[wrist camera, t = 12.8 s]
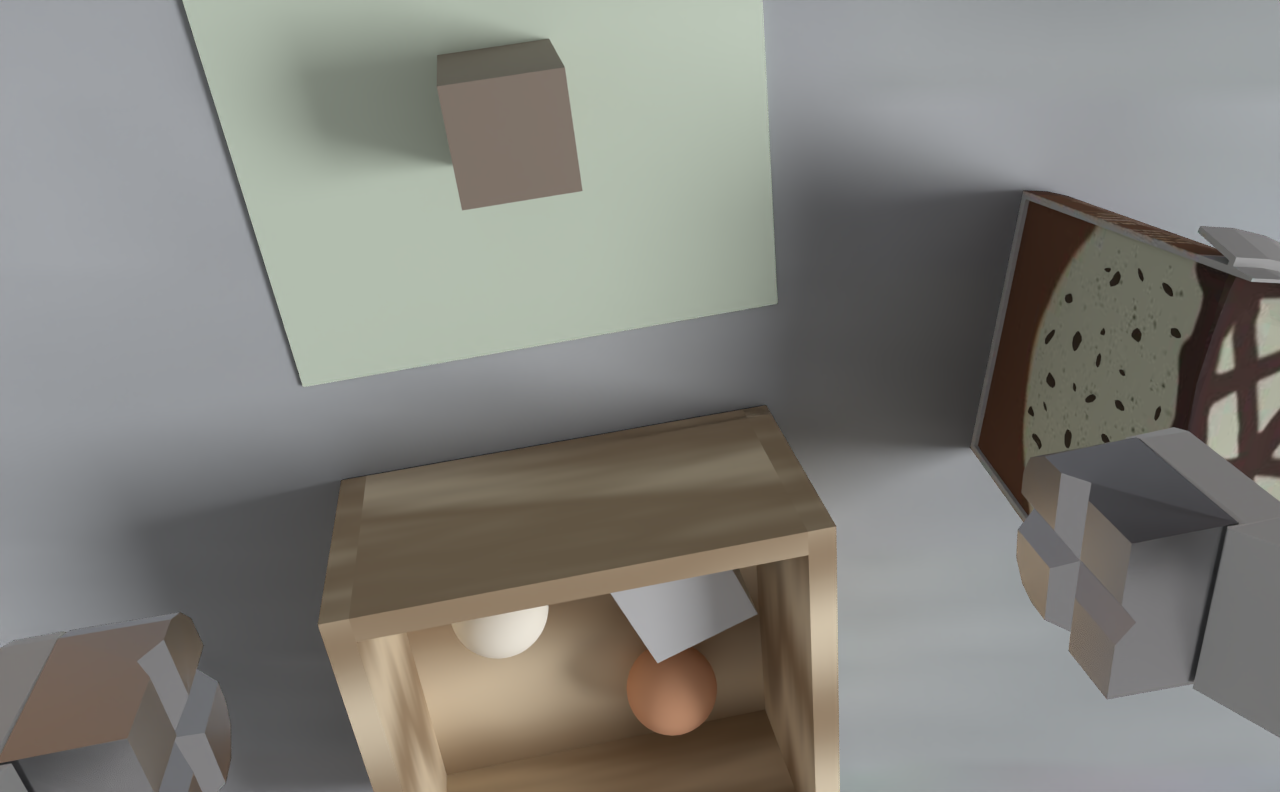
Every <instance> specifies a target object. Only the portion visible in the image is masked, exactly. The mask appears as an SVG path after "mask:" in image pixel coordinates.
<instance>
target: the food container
mask: <svg viewBox="0 0 1280 792" xmlns="http://www.w3.org/2000/svg"><path fill="white" fill-rule="evenodd" d="M1198 233H1200V234H1201V235H1202V236H1203V237H1204V238H1205V239H1206V240H1207V241H1208V242H1209V243H1211V244H1212V245H1213V246H1214V247H1215V248H1213V247H1211V246H1208V245H1205V244H1202V243H1199V242H1196V241H1194V240H1191V239H1188V238H1185V237H1182V236H1179V235H1177V234H1174V233H1171V232H1168V231H1165V230H1162V229H1159V228H1157V227H1154V226H1151V225H1148V224H1145V223H1142V222H1140V221H1137V220H1134V219H1131V218H1128V217H1125V216H1123V215H1120V214H1117V213H1114V212H1111V211H1108V210H1106V209H1103V208H1100V207H1097V206H1094V205H1091V204H1089V203H1086V202H1083V201H1080V200H1077V199H1074V198H1071V197H1069V196H1065V195H1060V194H1056V193H1052V192H1045V191H1025V190H1023V194H1022V199H1021V204H1020V209H1019V214H1018V219H1017V223H1016V228H1015V233H1014V238H1013V243H1012V248H1011V253H1010V257H1009V262H1008V267H1007V272H1006V277H1005V282H1004V286H1003V291H1002V296H1001V301H1000V306H999V311H998V316H997V320H996V325H995V330H994V335H993V340H992V345H991V349H990V354H989V359H988V364H987V369H986V374H985V378H984V383H983V388H982V393H981V398H980V403H979V408H978V412H977V417H976V422H975V427H974V432H973V437H972V441H971V446H970V448H971V449H972V451H973V452H974V454H975V455H976V456H977V458H978V459H979V461H980V462H981V463H982V465H983V466H984V468H985V469H986V470H987V472H988V473H989V475H990V476H991V477H992V479H993V480H994V482H995V483H996V484H997V486H998V487H999V489H1000V490H1001V491H1002V493H1003V494H1004V496H1005V497H1006V498H1007V500H1008V501H1009V503H1010V504H1011V505H1012V507H1013V508H1014V510H1015V511H1016V512H1017V514H1018V515H1019V517H1020V518H1021V519H1022V521H1023V522H1024V521H1025V520H1026V518H1027V517H1028V516H1029V514H1030V513H1031V512H1032V510H1033V509H1034V508H1033V506H1032V505H1031V504H1030V503H1029V502H1028V500H1027V499H1026V498H1025V497H1024V496H1023V494H1022V493H1021V490H1022V481H1023V472H1024V469H1025V467H1026V465H1027V463H1028V461H1029V459H1030V457H1035V456H1040V455H1045V454H1051V453H1056V452H1061V451H1066V450H1071V449H1077V448H1082V447H1087V446H1092V445H1098V444H1103V443H1108V442H1113V441H1118V440H1124V439H1125V438H1126V437H1130V436H1135V435H1140V434H1144V433H1149V432H1154V431H1158V430H1163V429H1168V428H1172V427H1175V428H1179V429H1182V430H1186V431H1189V432H1191V433H1192V434H1193V435H1194V436H1196V437H1197V438H1198V439H1200V440H1201V441H1202V442H1203V443H1205V444H1206V445H1207V446H1209V447H1210V448H1211V449H1213V450H1214V451H1215V452H1216V453H1218V454H1219V455H1220V456H1222V457H1223V458H1224V459H1225V460H1227V461H1228V462H1229V463H1231V464H1232V465H1233V466H1234V467H1236V468H1237V469H1238V470H1240V471H1241V472H1242V473H1244V474H1245V475H1246V476H1247V477H1249V478H1250V479H1251V480H1253V481H1254V482H1255V483H1256V484H1258V485H1259V486H1260V487H1262V488H1263V489H1264V490H1265V491H1267V492H1268V493H1269V494H1271V495H1272V496H1273V497H1275V498H1276V499H1277V500H1278V501H1280V243H1279V242H1277V241H1275V240H1273V239H1271V238H1269V237H1267V236H1264V235H1260V234H1256V233H1251V232H1247V231H1243V230H1239V229H1235V228H1224V227H1206V226H1200V228H1199V230H1198Z"/></svg>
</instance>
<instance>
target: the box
mask: <svg viewBox="0 0 1280 792" xmlns="http://www.w3.org/2000/svg"><path fill="white" fill-rule="evenodd" d="M734 569H739V570H740V572H741V575H742V577H743V579H744V582H745V584H746V587H747V589H748V592H749V594H750V597H751V599H752V601H753V604H754V606H755V609H756V611H757V615H755V616H753V617H751V618H749V619H746V620H744V621H742V622H740V623H738V624H736V625H734V626H732V627H730V628H728V629H726V630H724V631H722V632H720V633H718V634H716V635H714V636H712V637H710V638H708V639H706V640H704V641H702V642H700V643H698V644H696V645H694V646H692V647H693V648H695V649H696V650H698V651H699V652H700V653H702V654H703V655H704V657H705V658H706V659H707V660H708V662H709V663H710V665H711V666H712V669H713V671H714V674H715V677H716V682H717V695H716V701H715V704H714V707H713V709H712V711H711V713H710V715H709V716H708V718H707V719H706V720H705V721H704V722H703V723H702V724H701V725H700V726H699V727H697V728H696V729H694V730H693V731H690V732H688V733H685V734H682V735H674V736H670V735H663V734H659V733H656V732H654V731H652V730H650V729H648V728H647V727H646V726H644V725H643V724H642V723H641V722H640V721H639V720H638V719H637V717H636V716H635V715H634V713H633V711H632V709H631V707H630V705H629V701H628V697H627V679H628V675H629V672H630V670H631V667H632V665H633V663H634V662H635V660H636V659H637V658H638V657H639V656H640V655H641V654H642V653H643V652H644V651H645V650H647V649H648V648H647V647H646V645H645V644H644V642H643V641H642V640H641V638H640V637H639V635H638V634H637V632H636V631H635V629H634V628H633V626H632V625H631V623H630V622H629V620H628V619H627V617H626V616H625V614H624V613H623V611H622V610H621V608H620V607H619V605H618V604H617V602H616V601H615V599H614V598H613V596H612V595H611V593H614V592H619V591H624V590H630V589H635V588H640V587H645V586H650V585H656V584H661V583H666V582H671V581H676V580H682V579H687V578H692V577H697V576H702V575H708V574H713V573H718V572H723V571H728V570H734ZM546 605H548V617H547V621H546V624H545V626H544V629H543V631H542V633H541V635H540V636H539V637H538V639H537V640H536V641H535V642H534V643H533V644H532V645H531V646H530V647H529V648H528V649H526V650H525V651H523V652H522V653H520V654H517V655H515V656H512V657H508V658H502V659H494V658H487V657H483V656H480V655H478V654H476V653H474V652H472V651H471V650H469V649H468V648H467V647H465V646H464V645H463V644H462V643H461V641H460V640H459V639H458V637H457V636H456V634H455V632H454V630H453V627H452V624H453V623H458V622H463V621H468V620H473V619H479V618H484V617H489V616H494V615H499V614H505V613H510V612H515V611H520V610H525V609H531V608H536V607H541V606H546ZM318 627H319V630H320V633H321V636H322V639H323V642H324V645H325V648H326V651H327V654H328V657H329V660H330V663H331V666H332V669H333V672H334V675H335V678H336V681H337V684H338V687H339V690H340V693H341V696H342V699H343V702H344V705H345V708H346V711H347V713H348V716H349V719H350V722H351V725H352V728H353V731H354V734H355V737H356V740H357V743H358V746H359V749H360V752H361V755H362V758H363V761H364V764H365V767H366V770H367V773H368V776H369V779H370V782H371V785H372V788H373V791H374V792H840V777H839V701H838V625H837V549H836V525H835V523H834V522H833V520H832V518H831V517H830V515H829V513H828V511H827V510H826V508H825V506H824V504H823V503H822V501H821V499H820V498H819V496H818V494H817V492H816V491H815V489H814V487H813V485H812V484H811V482H810V480H809V479H808V477H807V475H806V473H805V472H804V470H803V468H802V466H801V465H800V463H799V461H798V459H797V458H796V456H795V454H794V453H793V451H792V449H791V447H790V446H789V444H788V442H787V440H786V439H785V437H784V435H783V434H782V432H781V430H780V428H779V427H778V425H777V423H776V421H775V420H774V418H773V416H772V415H771V413H770V411H769V409H768V408H767V406H766V405H764V406H759V407H753V408H748V409H742V410H736V411H731V412H725V413H719V414H714V415H708V416H702V417H697V418H691V419H685V420H680V421H674V422H668V423H663V424H657V425H651V426H646V427H640V428H634V429H629V430H623V431H617V432H612V433H606V434H600V435H595V436H589V437H583V438H578V439H572V440H566V441H561V442H555V443H550V444H544V445H538V446H533V447H527V448H521V449H516V450H510V451H504V452H499V453H493V454H487V455H482V456H476V457H470V458H465V459H459V460H453V461H448V462H442V463H436V464H431V465H425V466H419V467H414V468H408V469H402V470H397V471H391V472H385V473H380V474H374V475H369V476H363V477H357V478H352V479H346V480H341V485H340V491H339V497H338V503H337V509H336V515H335V522H334V528H333V534H332V540H331V546H330V552H329V559H328V565H327V571H326V577H325V583H324V589H323V595H322V602H321V608H320V614H319V620H318Z"/></svg>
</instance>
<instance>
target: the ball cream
mask: <svg viewBox="0 0 1280 792" xmlns="http://www.w3.org/2000/svg"><path fill="white" fill-rule="evenodd" d="M547 617H548V605H546V606H541V607H536V608H531V609H525V610H520V611H515V612H510V613H505V614H499V615H494V616H489V617H484V618H479V619H473V620H468V621H463V622H458V623H453V624H452V627H453V630H454V632H455V634H456V636H457V637H458V639H459V640H460V641H461V643H462V644H463V645H464V646H465V647H467V648H468V649H469V650H471V651H472V652H474V653H476V654H478V655H480V656H483V657H487V658H494V659H502V658H508V657H512V656H515V655H517V654H520V653H522V652H523V651H525V650H526V649H528V648H529V647H530V646H531V645H532V644H533V643H534V642H535V641H536V640H537V639H538V637H539V636H540V635H541V633H542V631H543V629H544V626H545V624H546V621H547Z"/></svg>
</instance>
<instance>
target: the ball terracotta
mask: <svg viewBox="0 0 1280 792" xmlns="http://www.w3.org/2000/svg"><path fill="white" fill-rule="evenodd" d="M716 695H717V682H716V677H715V674H714V671H713V669H712V666H711V665H710V663H709V662H708V660H707V659H706V658H705V657H704V655H703V654H702V653H700V652H699V651H698V650H696V649H695V648H693V647H690V648H688V649H686V650H684V651H682V652H680V653H678V654H676V655H673V656H671V657H669V658H667V659H665V660H663V661H661V662H659V663H657V662H656V660H655V659H654V657H653V656H652V654H651V653H650V651H649V650H648V649H647V650H645V651H644V652H643V653H642V654H641V655H640V656H639V657H638V658H637V659H636V660H635V662H634V663H633V665H632V667H631V670H630V672H629V675H628V679H627V697H628V701H629V705H630V707H631V709H632V711H633V713H634V715H635V716H636V717H637V719H638V720H639V721H640V722H641V723H642V724H643V725H644V726H646V727H647V728H648V729H650V730H652V731H654V732H656V733H659V734H663V735H670V736H674V735H682V734H685V733H688V732H690V731H693V730H694V729H696V728H697V727H699V726H700V725H701V724H702V723H703V722H704V721H705V720H706V719H707V718H708V716H709V715H710V713H711V711H712V709H713V707H714V704H715V701H716Z"/></svg>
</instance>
